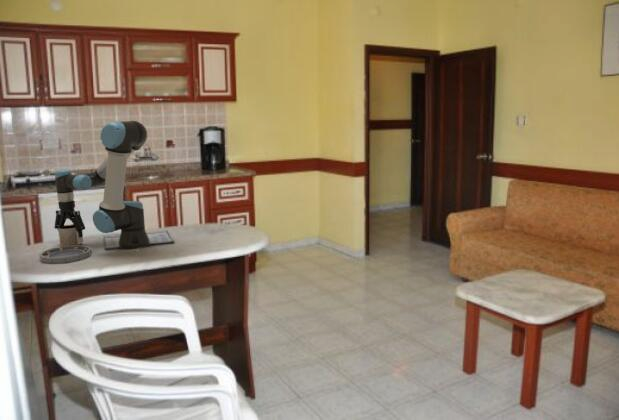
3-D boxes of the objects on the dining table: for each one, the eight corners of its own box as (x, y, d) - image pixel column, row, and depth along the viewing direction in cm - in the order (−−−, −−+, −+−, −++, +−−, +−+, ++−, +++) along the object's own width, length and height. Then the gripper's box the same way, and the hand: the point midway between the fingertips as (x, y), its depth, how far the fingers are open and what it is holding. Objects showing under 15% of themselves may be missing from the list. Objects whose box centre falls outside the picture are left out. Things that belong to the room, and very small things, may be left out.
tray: (101, 252, 255) (100, 247, 254) (65, 265, 235) (65, 260, 234) (66, 248, 263) (66, 243, 262) (29, 261, 243) (29, 255, 242)
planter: (74, 247, 261) (72, 229, 259) (55, 247, 264) (53, 228, 262) (87, 242, 272) (85, 224, 270) (69, 241, 274) (67, 224, 272)
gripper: (89, 200, 262) (94, 242, 267) (54, 198, 271) (60, 239, 275) (78, 202, 256) (83, 245, 260) (43, 201, 264) (48, 243, 268)
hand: (71, 242), depth 267 cm, fingers closed on planter, 11 cm apart
